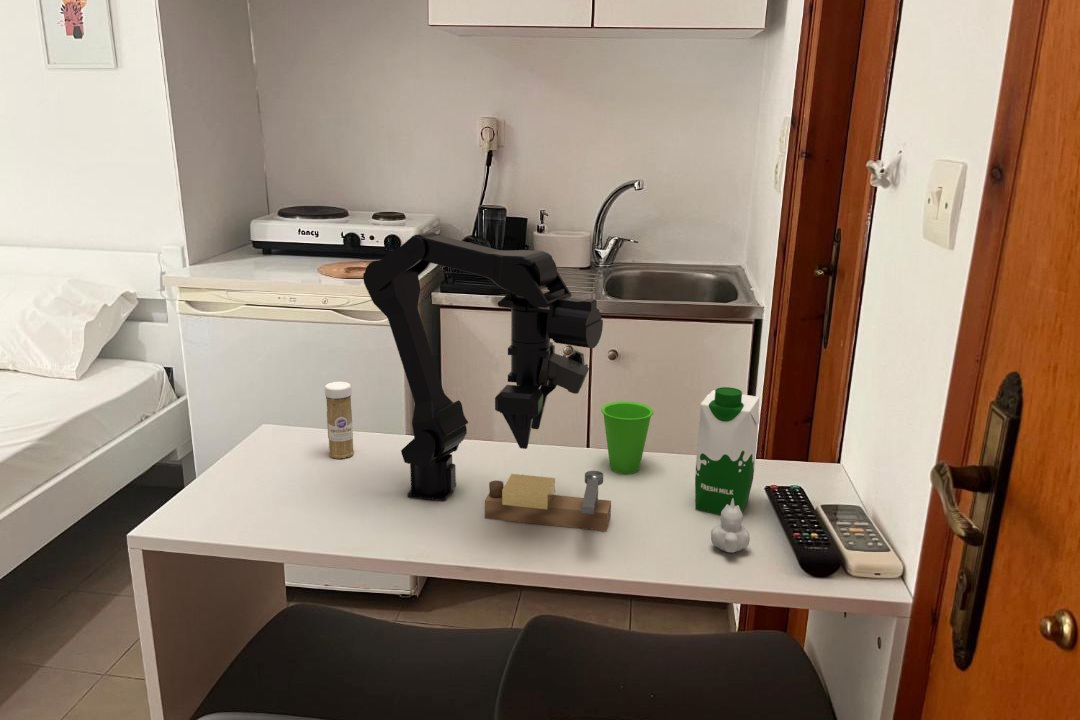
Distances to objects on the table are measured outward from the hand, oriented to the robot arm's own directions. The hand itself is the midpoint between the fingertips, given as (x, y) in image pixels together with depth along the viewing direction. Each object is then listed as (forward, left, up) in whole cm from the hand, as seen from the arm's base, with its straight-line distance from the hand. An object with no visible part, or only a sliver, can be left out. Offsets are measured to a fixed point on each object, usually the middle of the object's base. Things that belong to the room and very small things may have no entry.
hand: (529, 438), depth 128 cm
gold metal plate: (0, 0, -10) cm, 10 cm away
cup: (+12, +22, -13) cm, 28 cm away
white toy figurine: (+30, -4, -13) cm, 34 cm away
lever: (+10, -5, -6) cm, 13 cm away
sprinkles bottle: (-39, +16, -13) cm, 44 cm away
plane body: (+3, 0, -13) cm, 13 cm away
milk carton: (+29, +11, -13) cm, 34 cm away
